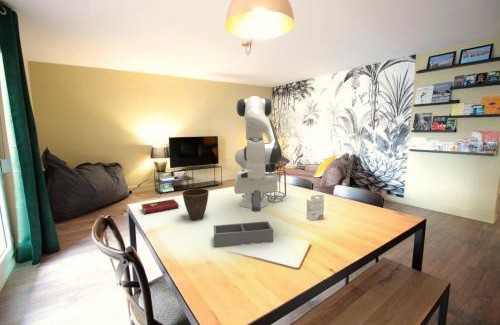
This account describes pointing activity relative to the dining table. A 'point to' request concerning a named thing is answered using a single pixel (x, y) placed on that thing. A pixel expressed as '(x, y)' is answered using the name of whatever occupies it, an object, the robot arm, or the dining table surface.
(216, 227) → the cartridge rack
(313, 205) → the ink cartridge box
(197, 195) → the plant pot
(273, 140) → the robot arm
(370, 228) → the dining table surface
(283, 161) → the geometric lantern
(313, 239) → the dining table surface
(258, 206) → the metal cell
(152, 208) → the hardcover book
